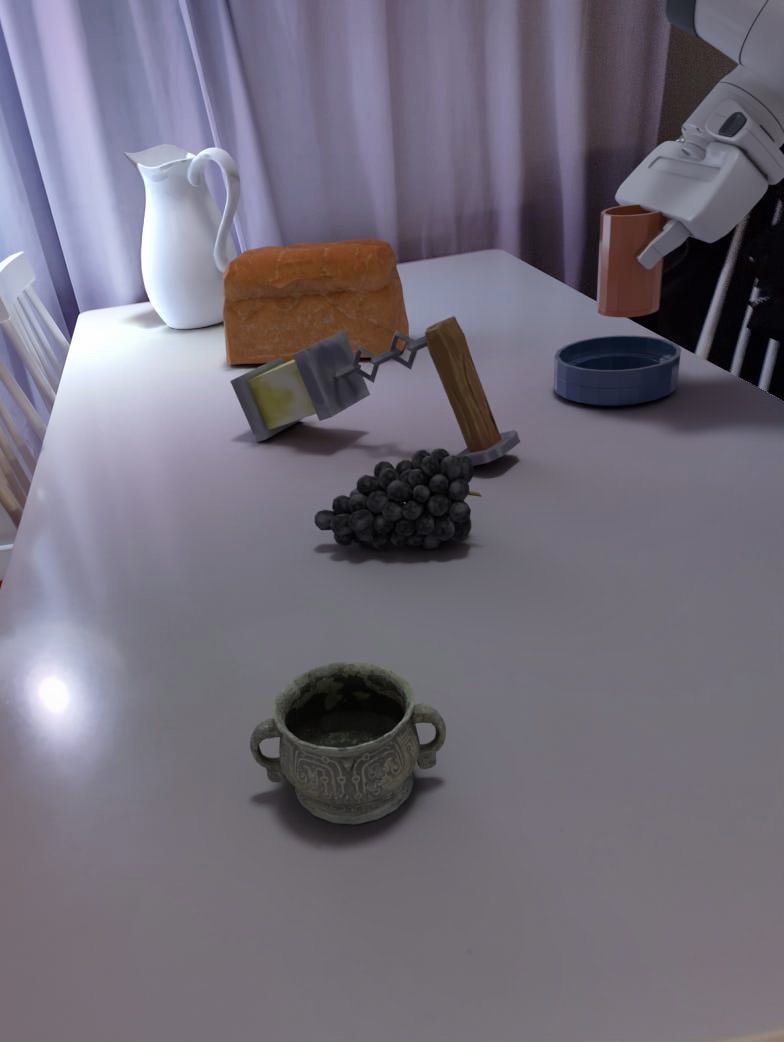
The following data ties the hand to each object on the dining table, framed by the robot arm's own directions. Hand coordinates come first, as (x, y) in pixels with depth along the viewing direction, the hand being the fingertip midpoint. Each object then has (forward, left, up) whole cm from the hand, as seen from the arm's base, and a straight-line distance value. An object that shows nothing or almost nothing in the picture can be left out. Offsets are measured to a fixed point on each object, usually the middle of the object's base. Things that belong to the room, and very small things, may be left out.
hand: (625, 257), depth 99 cm
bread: (+36, -36, -17) cm, 54 cm away
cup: (-1, 0, -5) cm, 5 cm away
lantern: (+28, +5, -17) cm, 33 cm away
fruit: (+26, +29, -17) cm, 42 cm away
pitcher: (+56, -61, -17) cm, 85 cm away
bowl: (-1, -6, -16) cm, 18 cm away
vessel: (+30, +62, -17) cm, 71 cm away
